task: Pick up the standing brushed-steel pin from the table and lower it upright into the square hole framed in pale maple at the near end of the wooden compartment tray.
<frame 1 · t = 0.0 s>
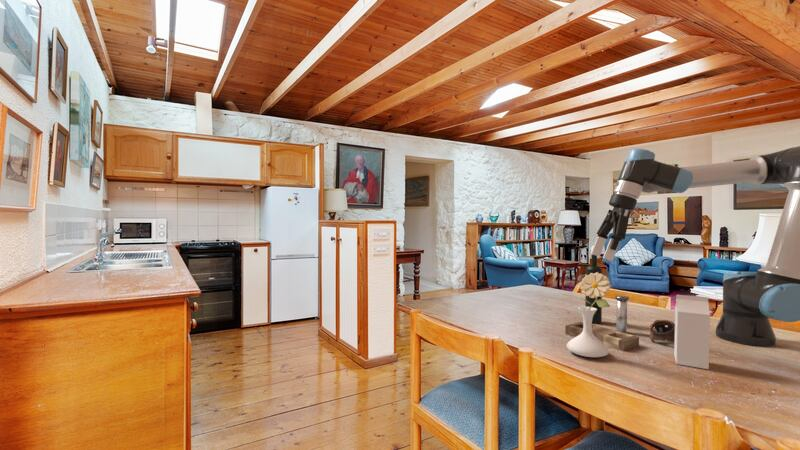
hand: (601, 257, 126), 28 cm above the table, tool tilted 20°, fingers open, 13 cm apart
milk carton: (690, 363, 107), on the table
wine bottle: (593, 322, 149), on the table
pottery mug: (665, 342, 126), on the table
steel pin: (621, 332, 136), on the table
flower in vase: (589, 355, 113), on the table
wooden compartment tray: (600, 339, 128), on the table
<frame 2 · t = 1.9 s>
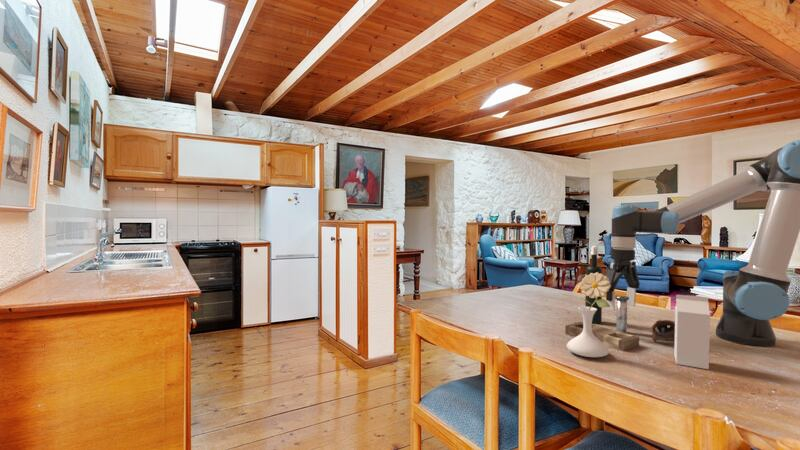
hand: (620, 307, 136), 9 cm above the table, tool pointing down, fingers open, 13 cm apart
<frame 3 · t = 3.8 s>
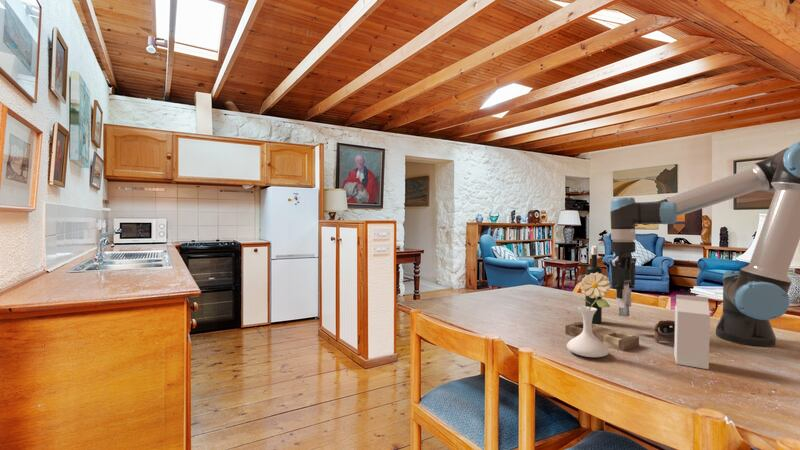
hand: (623, 306, 136), 9 cm above the table, tool pointing down, fingers closed on steel pin, 3 cm apart
steel pin: (624, 315, 136), point 6 cm above the table, touching gripper
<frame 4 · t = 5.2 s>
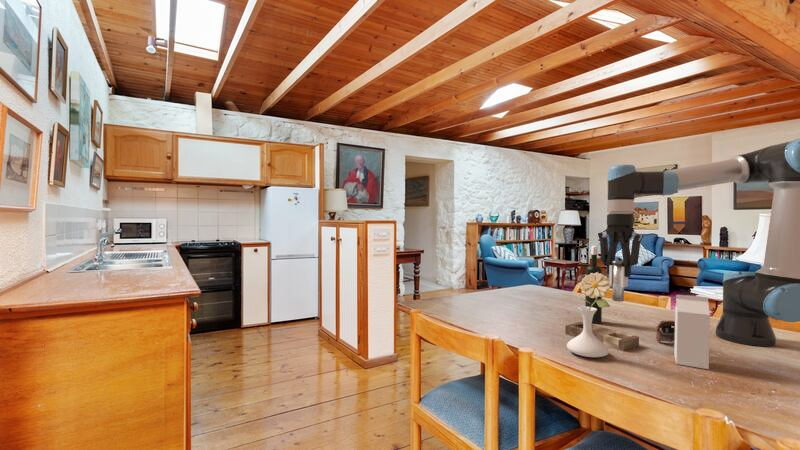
hand: (618, 285, 123), 19 cm above the table, tool pointing down, fingers closed on steel pin, 3 cm apart
steel pin: (617, 300, 123), point 14 cm above the table, touching gripper
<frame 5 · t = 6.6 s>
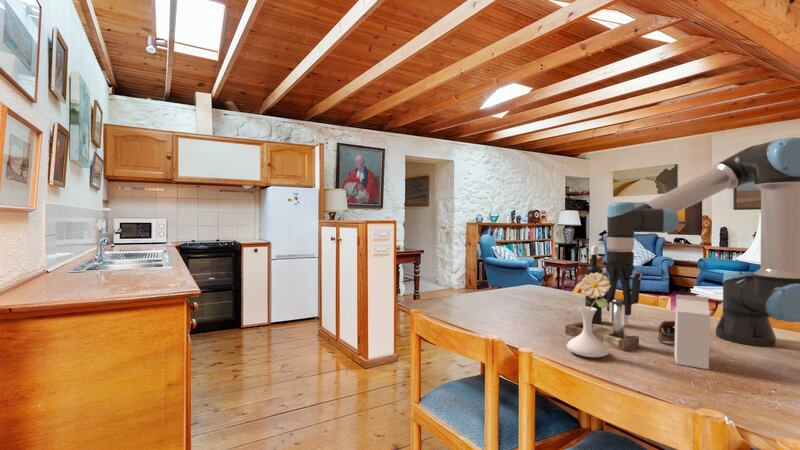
hand: (618, 323, 122), 7 cm above the table, tool pointing down, fingers closed on steel pin, 3 cm apart
steel pin: (618, 339, 122), point 2 cm above the table, touching gripper
when the fingers open (5 cm above the table, at t = 7.3 s): steel pin stays where it is, resting in wooden compartment tray.
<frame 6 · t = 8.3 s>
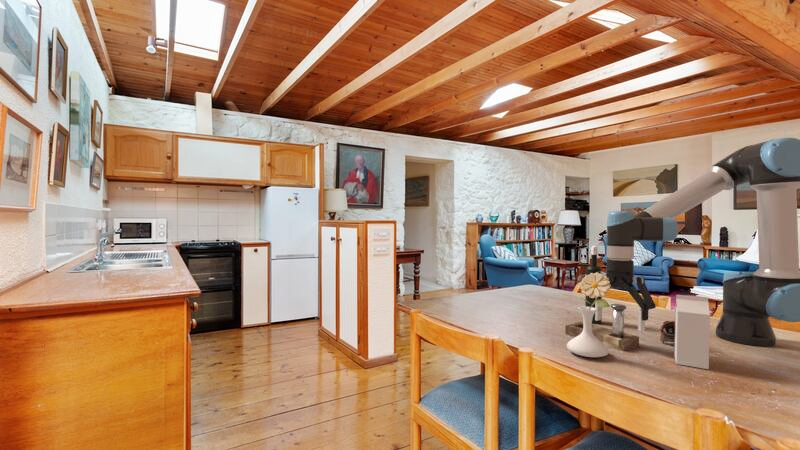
hand: (618, 325, 122), 6 cm above the table, tool pointing down, fingers open, 13 cm apart
steel pin: (617, 344, 122), resting in wooden compartment tray
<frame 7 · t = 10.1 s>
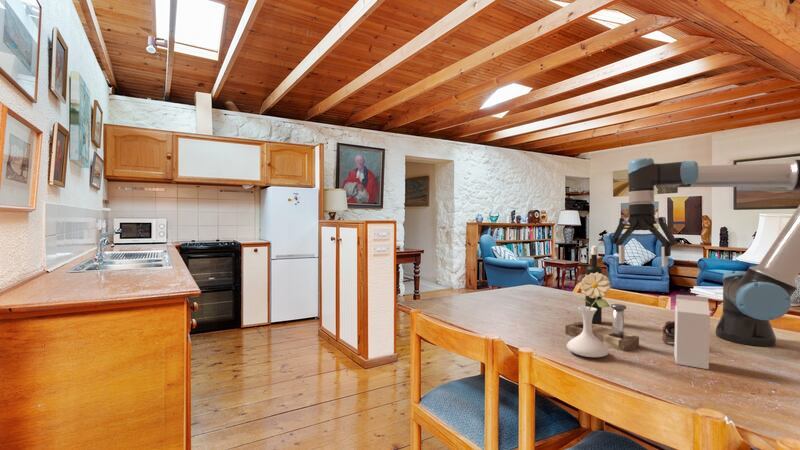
hand: (642, 264, 132), 25 cm above the table, tool pointing down, fingers open, 13 cm apart
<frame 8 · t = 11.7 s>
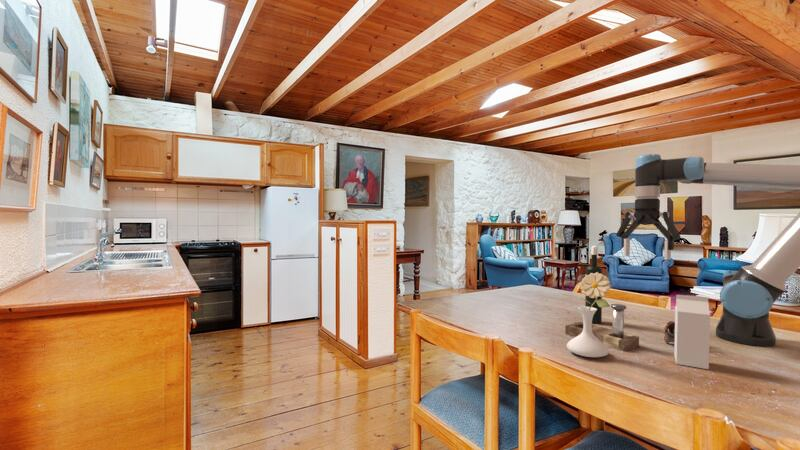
hand: (646, 257, 137), 27 cm above the table, tool pointing down, fingers open, 13 cm apart
at the end: steel pin 0.1 cm from the target spot on the wooden compartment tray, point 0.0 cm above the wooden compartment tray's base; steel pin tilted 0°; the gripper is holding nothing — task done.
